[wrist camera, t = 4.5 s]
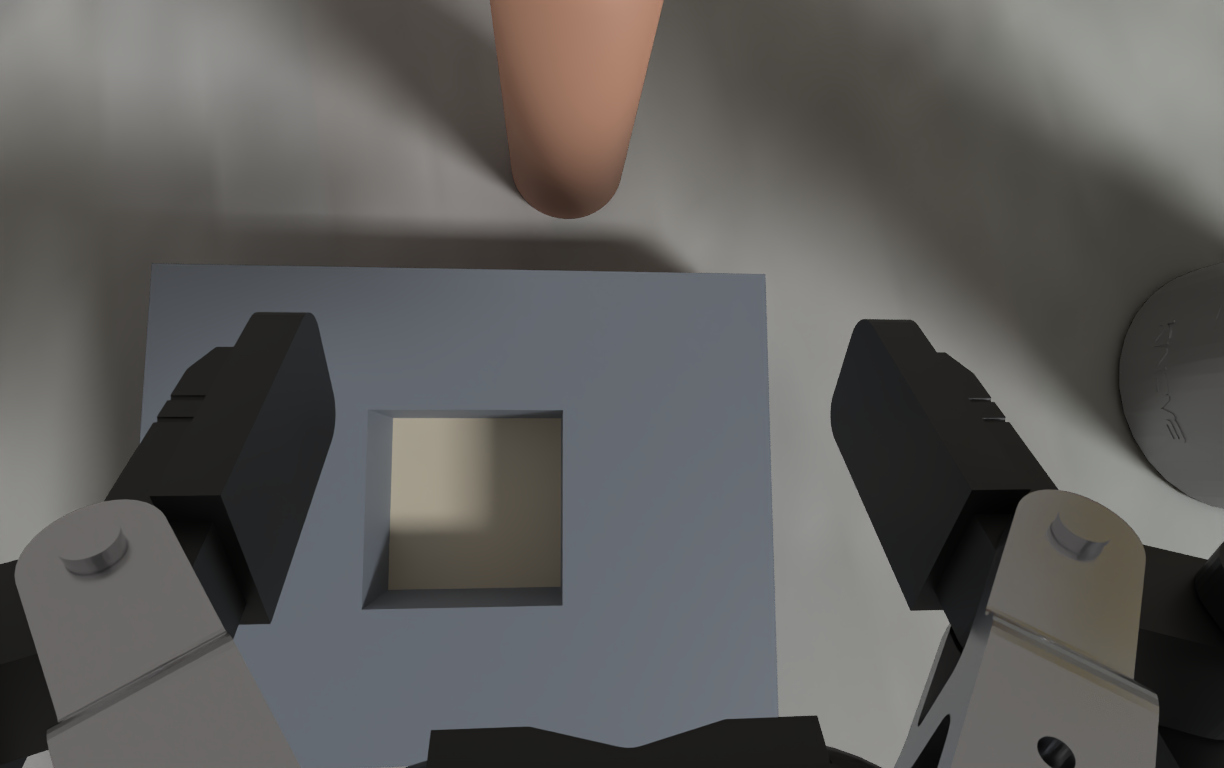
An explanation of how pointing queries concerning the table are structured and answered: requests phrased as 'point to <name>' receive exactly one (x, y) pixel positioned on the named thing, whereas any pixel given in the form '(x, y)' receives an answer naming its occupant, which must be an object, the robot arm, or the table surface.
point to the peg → (571, 95)
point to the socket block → (510, 502)
